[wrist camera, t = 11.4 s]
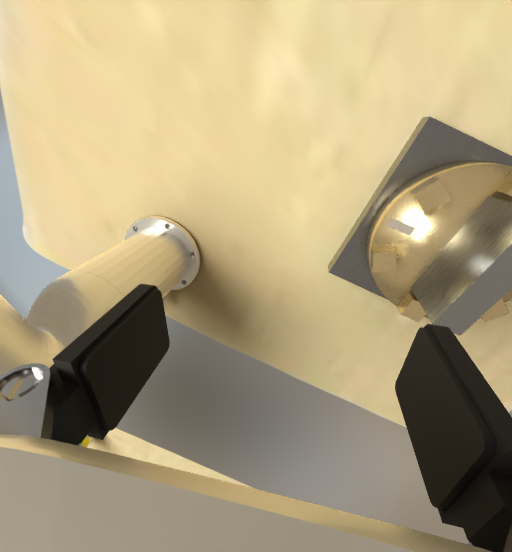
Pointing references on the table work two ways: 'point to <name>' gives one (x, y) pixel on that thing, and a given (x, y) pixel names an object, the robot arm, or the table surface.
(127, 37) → the table surface
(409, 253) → the round hub with lugs
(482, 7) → the table surface
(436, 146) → the base plate
